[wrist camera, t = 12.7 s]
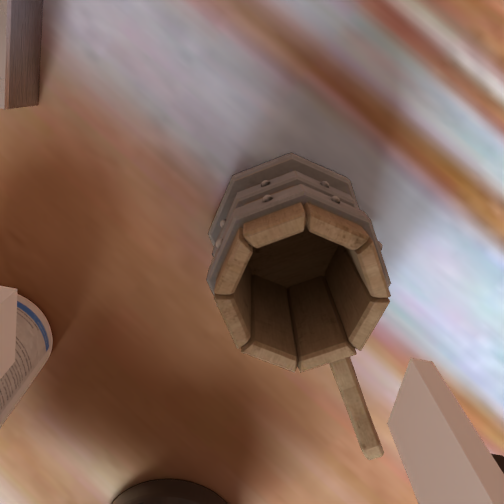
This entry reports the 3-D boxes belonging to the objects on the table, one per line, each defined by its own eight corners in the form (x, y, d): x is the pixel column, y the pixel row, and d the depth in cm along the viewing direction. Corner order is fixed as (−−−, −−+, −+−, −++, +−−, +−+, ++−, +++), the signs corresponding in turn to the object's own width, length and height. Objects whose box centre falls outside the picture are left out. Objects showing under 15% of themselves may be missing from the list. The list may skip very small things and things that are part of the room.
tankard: (192, 190, 41) (161, 249, 27) (332, 135, 40) (377, 166, 26) (274, 376, 48) (283, 501, 34) (398, 334, 46) (463, 448, 32)
